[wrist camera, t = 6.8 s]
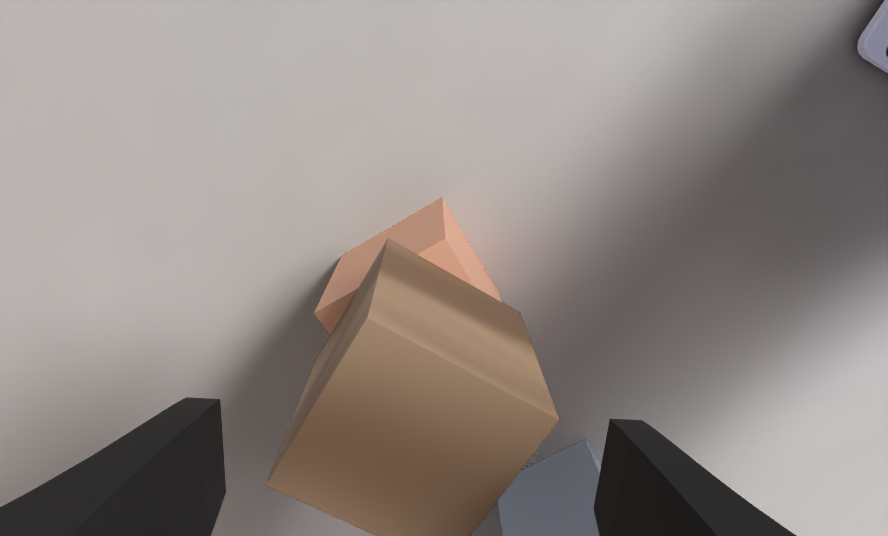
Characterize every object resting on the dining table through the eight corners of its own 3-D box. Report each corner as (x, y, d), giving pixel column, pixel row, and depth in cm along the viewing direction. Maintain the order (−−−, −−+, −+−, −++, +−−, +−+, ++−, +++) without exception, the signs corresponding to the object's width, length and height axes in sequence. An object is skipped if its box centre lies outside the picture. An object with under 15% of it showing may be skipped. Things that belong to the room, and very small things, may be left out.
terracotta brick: (442, 197, 19) (445, 238, 15) (499, 293, 21) (519, 359, 16) (341, 255, 20) (313, 313, 15) (402, 345, 21) (394, 425, 16)
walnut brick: (387, 238, 15) (367, 317, 10) (520, 312, 15) (559, 419, 11) (315, 360, 16) (265, 484, 11) (442, 425, 17) (446, 567, 12)
